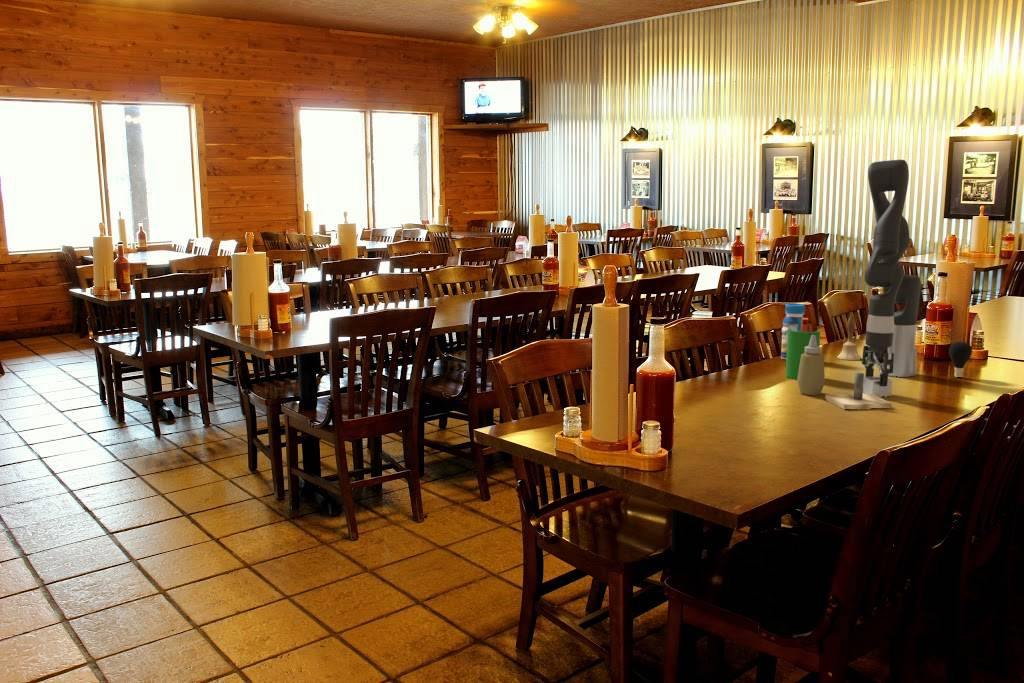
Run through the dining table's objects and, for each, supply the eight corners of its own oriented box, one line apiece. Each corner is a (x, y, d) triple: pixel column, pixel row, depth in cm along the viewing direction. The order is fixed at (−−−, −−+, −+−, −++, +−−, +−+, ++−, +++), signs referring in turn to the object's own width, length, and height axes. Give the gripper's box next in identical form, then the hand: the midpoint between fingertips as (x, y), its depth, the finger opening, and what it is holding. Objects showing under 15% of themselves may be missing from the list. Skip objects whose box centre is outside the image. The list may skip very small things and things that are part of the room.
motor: (814, 374, 296) (818, 315, 292) (821, 380, 287) (824, 319, 284) (783, 374, 297) (786, 315, 293) (789, 380, 288) (792, 319, 285)
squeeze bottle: (825, 391, 272) (829, 334, 268) (822, 397, 264) (826, 338, 261) (798, 389, 275) (801, 332, 272) (794, 395, 268) (797, 336, 265)
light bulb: (947, 378, 288) (950, 342, 286) (946, 374, 294) (949, 339, 292) (970, 380, 286) (973, 343, 283) (968, 376, 292) (971, 340, 290)
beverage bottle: (807, 361, 317) (810, 306, 313) (784, 361, 317) (786, 306, 314) (800, 356, 325) (803, 302, 322) (777, 356, 325) (780, 303, 322)
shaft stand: (870, 398, 263) (872, 368, 262) (891, 408, 252) (893, 377, 250) (825, 399, 262) (826, 369, 260) (844, 409, 250) (846, 378, 249)
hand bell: (834, 355, 327) (837, 313, 324) (858, 356, 326) (861, 313, 323) (839, 360, 319) (842, 316, 316) (863, 360, 318) (866, 316, 315)
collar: (880, 392, 271) (882, 376, 270) (891, 396, 265) (892, 380, 264) (862, 392, 270) (863, 376, 269) (871, 397, 264) (873, 381, 264)
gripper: (904, 333, 258) (900, 388, 260) (880, 326, 272) (876, 378, 274) (879, 334, 257) (875, 388, 260) (856, 326, 271) (852, 378, 274)
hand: (875, 383), depth 267 cm, fingers open, 8 cm apart
